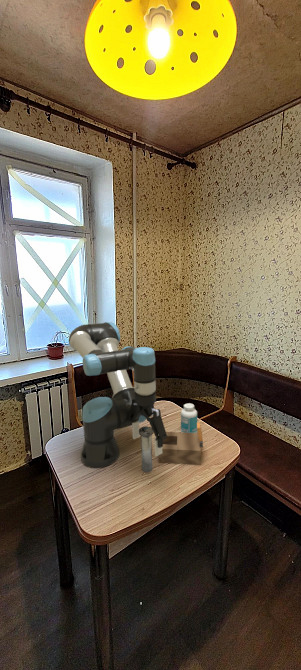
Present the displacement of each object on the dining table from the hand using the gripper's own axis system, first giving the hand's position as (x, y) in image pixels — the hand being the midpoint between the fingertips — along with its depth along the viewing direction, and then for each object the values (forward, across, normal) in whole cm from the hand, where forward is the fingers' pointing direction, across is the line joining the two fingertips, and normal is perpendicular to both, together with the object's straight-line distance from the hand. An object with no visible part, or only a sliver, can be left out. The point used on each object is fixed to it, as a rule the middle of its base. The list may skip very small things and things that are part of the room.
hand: (146, 445), depth 99 cm
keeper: (0, +6, +21) cm, 22 cm away
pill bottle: (+10, -7, +30) cm, 32 cm away
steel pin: (+10, 0, 0) cm, 10 cm away
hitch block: (+10, +1, +16) cm, 18 cm away
